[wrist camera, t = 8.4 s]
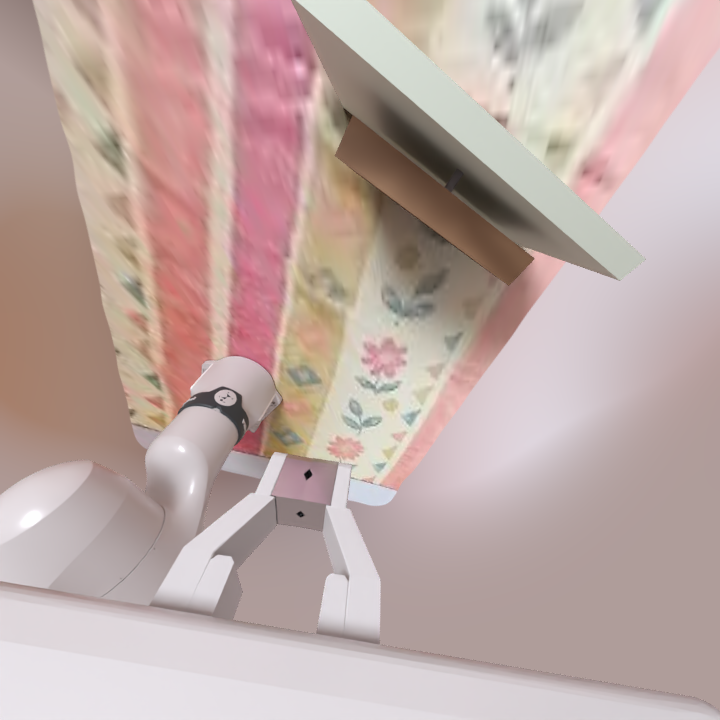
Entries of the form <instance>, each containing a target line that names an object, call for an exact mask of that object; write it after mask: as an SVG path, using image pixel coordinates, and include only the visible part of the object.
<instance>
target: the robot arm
mask: <svg viewBox="0 0 720 720" xmlns="http://www.w3.org/2000/svg"><path fill="white" fill-rule="evenodd" d="M190 390H191V398H190V399H189V400H187V401H186V402H185V403H184V404H183V406H182V408H181V409H180V410H179V412H178V415H177V416H176V417H175V419H174V420H173V421H172V422H171V423H170V424H169V425H168V426H167V427H166V428H165V429H164V430H163V431H162V432H161V433H160V434H159V435H158V436H157V437H156V438H155V439H154V440H153V441H152V443H151V444H150V446H149V448H148V450H147V453H146V457H145V466H146V473H147V485H146V490H145V492H143V491H142V490H141V489H140V488H139V487H138V486H136V485H135V484H134V483H133V482H132V481H131V480H129V479H128V478H127V477H125V476H123V475H121V474H119V473H117V472H115V471H113V470H111V469H109V468H107V467H104V466H102V465H100V464H97V463H95V462H93V461H91V460H76V461H70V462H65V463H61V464H57V465H54V466H51V467H48V468H45V469H42V470H40V471H38V472H36V473H34V474H32V475H30V476H28V477H26V478H24V479H22V480H21V481H19V482H18V483H16V484H14V485H13V486H12V487H10V488H9V489H7V490H6V491H5V492H4V493H3V494H1V495H0V720H720V710H718V709H717V708H716V707H714V706H713V705H711V704H710V703H708V702H706V701H704V700H701V699H698V698H695V697H690V696H685V695H680V694H674V693H668V692H662V691H656V690H650V689H644V688H637V687H632V686H626V685H620V684H614V683H608V682H602V681H596V680H590V679H584V678H578V677H572V676H566V675H560V674H554V673H548V672H542V671H535V670H530V669H524V668H518V667H512V666H505V665H499V664H493V663H488V662H482V661H476V660H470V659H464V658H458V657H452V656H446V655H440V654H434V653H428V652H422V651H416V650H410V649H404V648H398V647H392V646H386V645H380V586H381V585H380V584H381V580H380V578H379V576H378V573H377V571H376V569H375V566H374V564H373V562H372V559H371V557H370V554H369V552H368V550H367V548H366V545H365V543H364V540H363V538H362V535H361V533H360V531H359V528H358V526H357V524H356V522H355V519H354V517H353V514H352V512H351V510H350V509H347V508H346V507H347V500H348V493H349V485H350V477H351V470H352V464H346V463H339V462H335V461H328V460H322V459H315V458H307V457H301V456H296V455H290V454H285V453H279V452H274V454H273V455H272V457H271V459H270V461H269V463H268V466H267V468H266V470H265V472H264V474H263V477H262V479H261V481H260V483H259V486H258V488H257V490H256V492H255V493H250V494H249V495H248V496H246V497H245V498H244V499H243V500H241V501H240V502H239V503H238V504H236V505H235V506H234V507H233V508H231V509H230V510H229V511H228V512H226V513H225V514H224V515H223V516H221V517H220V518H219V519H218V520H217V521H215V522H214V523H213V524H212V525H210V526H209V527H208V528H207V529H205V530H204V531H203V529H204V522H205V515H206V511H207V506H208V502H209V498H210V494H211V491H212V487H213V485H214V482H215V479H216V477H217V475H218V473H219V471H220V470H221V468H222V466H223V464H224V462H225V461H226V459H227V457H228V455H229V454H230V452H231V450H232V449H233V447H234V446H235V445H236V444H238V442H239V441H240V440H241V439H242V438H243V436H244V435H245V433H246V431H248V430H249V431H251V432H255V431H256V430H257V428H258V427H259V425H260V423H261V421H262V420H263V419H264V418H265V417H266V416H268V415H269V414H270V413H271V412H272V411H273V410H274V409H275V408H276V407H277V406H278V405H279V404H280V403H281V401H282V397H281V396H280V394H279V393H278V392H277V391H276V388H275V385H274V382H273V379H272V377H271V376H270V374H269V373H268V372H267V371H266V370H265V369H264V368H263V367H262V366H261V365H259V364H258V363H256V362H254V361H252V360H250V359H247V358H244V357H238V356H230V357H225V358H223V359H220V360H217V361H211V360H210V361H205V362H204V363H203V364H202V375H201V376H200V377H199V379H198V380H197V381H196V382H195V383H194V384H193V385H192V387H191V388H190ZM338 463H339V464H338ZM277 524H281V525H288V526H296V527H302V528H308V529H313V530H318V531H322V532H323V536H324V539H325V543H326V546H327V550H328V554H329V557H330V561H331V564H332V568H333V571H334V574H330V575H329V576H328V577H327V578H326V582H325V587H324V593H323V598H322V604H321V610H320V616H319V622H318V627H317V633H316V634H314V633H308V632H302V631H296V630H290V629H284V628H278V627H272V626H266V625H260V624H254V623H248V622H242V621H236V620H233V618H234V615H235V612H236V609H237V607H238V604H239V601H240V598H241V596H242V593H243V591H242V588H241V584H240V581H239V578H238V574H237V571H236V570H237V569H238V568H239V567H240V566H241V565H242V564H243V562H244V561H245V560H246V559H247V558H248V557H249V556H250V555H251V554H252V552H253V551H254V550H255V549H256V548H257V547H258V546H259V545H260V544H261V543H262V542H263V540H264V539H265V538H266V537H267V536H268V535H269V534H270V533H271V532H272V530H273V529H274V528H275V527H276V526H277Z"/></svg>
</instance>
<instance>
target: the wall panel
mask: <svg viewBox="0 0 720 720" xmlns="http://www.w3.org/2000/svg"><path fill="white" fill-rule="evenodd" d="M291 1H292V3H293V5H294V7H295V9H296V11H297V13H298V15H299V17H300V19H301V21H302V24H303V26H304V28H305V30H306V32H307V34H308V36H309V38H310V40H311V42H312V44H313V46H314V48H315V50H316V52H317V55H318V57H319V59H320V61H321V63H322V65H323V67H324V69H325V71H326V73H327V75H328V77H329V79H330V81H331V84H332V86H333V88H334V90H335V92H336V94H337V96H338V98H339V100H340V102H341V104H342V106H343V108H344V109H346V110H347V111H348V112H349V113H351V114H352V115H354V116H355V117H356V118H358V119H359V120H360V121H361V122H363V123H364V124H365V125H366V126H368V127H369V128H370V129H371V130H373V131H374V132H375V133H377V134H378V135H379V136H380V137H382V138H383V139H384V140H385V141H387V142H388V143H389V144H390V145H392V146H393V147H394V148H395V149H397V150H398V151H399V152H401V153H402V154H403V155H404V156H406V157H407V158H408V159H409V160H411V161H412V162H413V163H414V164H416V165H417V166H418V167H419V168H421V169H422V170H423V171H424V172H426V173H427V174H428V175H430V176H431V177H432V178H433V179H435V180H436V181H437V182H438V183H440V184H441V185H442V186H443V187H445V188H446V189H447V190H448V191H450V192H451V193H452V194H454V195H455V196H456V197H457V198H459V199H460V200H461V201H462V202H464V203H465V204H466V205H467V206H469V207H470V208H471V209H472V210H474V211H475V212H476V213H477V214H479V215H480V216H481V217H483V218H484V219H485V220H486V221H488V222H489V223H490V224H491V225H493V226H494V227H495V228H496V229H498V230H499V231H500V232H501V233H503V234H504V235H505V236H507V237H508V238H509V239H510V240H512V241H513V242H514V243H515V244H518V245H521V246H524V247H526V248H529V249H532V250H535V251H538V252H540V253H543V254H546V255H549V256H552V257H555V258H557V259H560V260H563V261H566V262H569V263H571V264H574V265H577V266H580V267H583V268H585V269H588V270H591V271H594V272H597V273H600V274H602V275H605V276H608V277H611V278H614V279H617V280H619V281H620V280H622V279H623V278H624V277H625V276H626V275H627V274H629V273H630V272H631V271H632V270H634V269H635V268H636V267H637V266H638V265H639V264H641V263H642V262H643V261H644V260H646V259H645V258H644V257H643V256H642V255H641V254H640V253H639V252H638V251H637V250H635V248H633V247H632V246H631V245H630V244H629V243H628V242H627V241H626V240H625V239H624V238H623V237H622V236H620V235H619V234H618V233H617V232H616V231H615V230H614V229H613V228H612V227H611V226H610V225H608V224H607V223H606V222H605V221H604V220H603V219H602V218H601V217H600V216H599V215H598V214H597V213H596V212H595V211H593V210H592V209H591V208H590V207H589V206H588V205H587V204H586V203H585V202H584V201H583V200H582V199H581V198H579V197H578V196H577V195H576V194H575V193H574V192H573V191H572V190H571V189H570V188H569V187H568V186H566V185H565V184H564V183H563V182H562V181H561V180H560V179H559V178H558V177H557V176H556V175H555V174H553V173H552V172H551V171H550V170H549V169H548V168H547V167H546V166H545V165H544V164H543V163H542V162H541V161H539V160H538V159H537V158H536V157H535V156H534V155H533V154H532V153H531V152H530V151H529V150H528V149H526V148H525V147H524V146H523V145H522V144H521V143H520V142H519V141H518V140H517V139H516V138H515V137H513V136H512V135H511V134H510V133H509V132H508V131H507V130H506V129H505V128H504V127H503V126H502V125H501V124H499V123H498V122H497V121H496V120H495V119H494V118H493V117H492V116H491V115H490V114H489V113H488V112H486V111H485V110H484V109H483V108H482V107H481V106H480V105H479V104H478V103H477V102H476V101H475V100H473V99H472V98H471V97H470V96H469V95H468V94H467V93H466V92H465V91H464V90H463V89H462V88H461V87H459V86H458V85H457V84H456V83H455V82H454V81H453V80H452V79H451V78H450V77H449V76H448V75H446V74H445V73H444V72H443V71H442V70H441V69H440V68H439V67H438V66H437V65H436V64H435V63H433V62H432V61H431V60H430V59H429V58H428V57H427V56H426V55H425V54H424V53H423V52H422V51H421V50H419V49H418V48H417V47H416V46H415V45H414V44H413V43H412V42H411V41H410V40H409V39H408V38H406V37H405V36H404V35H403V34H402V33H401V32H400V31H399V30H398V29H397V28H396V27H395V26H393V25H392V24H391V23H390V22H389V21H388V20H387V19H386V18H385V17H384V16H383V15H382V14H381V13H379V12H378V11H377V10H376V9H375V8H374V7H373V6H372V5H371V4H370V3H369V2H368V1H366V0H291Z"/></svg>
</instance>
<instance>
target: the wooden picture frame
mask: <svg viewBox="0 0 720 720" xmlns="http://www.w3.org/2000/svg"><path fill="white" fill-rule="evenodd" d="M335 156H336V157H337V158H338V159H340V160H341V161H342V162H343V163H345V164H346V165H347V166H348V167H350V168H351V169H352V170H353V171H355V172H356V173H357V174H359V175H360V176H361V177H363V178H364V179H365V180H367V181H368V182H369V183H371V184H372V185H373V186H375V187H376V188H377V189H379V190H380V191H381V192H383V193H384V194H385V195H387V196H388V197H389V198H391V199H392V200H393V201H395V202H396V203H397V204H399V205H400V206H401V207H403V208H404V209H405V210H407V211H408V212H409V213H411V214H412V215H413V216H415V217H416V218H417V219H419V220H420V221H421V222H423V223H424V224H425V225H427V226H428V227H429V228H431V229H432V230H433V231H435V232H436V233H437V234H439V235H440V236H442V237H443V238H444V239H446V240H447V241H448V242H450V243H451V244H452V245H454V246H455V247H456V248H458V249H459V250H460V251H462V252H463V253H464V254H466V255H467V256H468V257H470V258H471V259H472V260H474V261H475V262H476V263H478V264H479V265H481V266H482V267H483V268H485V269H486V270H488V271H489V272H490V273H492V274H493V275H495V276H496V277H497V278H499V279H500V280H502V281H503V282H504V283H506V284H507V285H510V284H511V283H512V282H513V281H514V280H515V279H516V278H517V277H518V276H519V275H520V273H521V272H522V271H523V270H524V269H525V268H526V267H527V266H528V265H529V264H530V263H531V262H532V261H533V260H534V258H533V257H532V256H530V255H529V254H528V253H527V252H525V251H524V250H523V249H522V248H520V247H519V246H518V245H517V244H515V243H514V242H513V241H512V240H510V239H509V238H508V237H507V236H505V235H504V234H503V233H501V232H500V231H499V230H498V229H496V228H495V227H494V226H493V225H491V224H490V223H489V222H488V221H486V220H485V219H484V218H483V217H481V216H480V215H479V214H477V213H476V212H475V211H474V210H472V209H471V208H470V207H469V206H467V205H466V204H465V203H464V202H462V201H461V200H460V199H459V198H457V197H456V196H455V195H454V194H452V193H451V192H450V191H448V190H447V189H446V188H445V187H443V186H442V185H441V184H440V183H438V182H437V181H436V180H435V179H433V178H432V177H431V176H430V175H428V174H427V173H426V172H424V171H423V170H422V169H421V168H419V167H418V166H417V165H416V164H414V163H413V162H412V161H411V160H409V159H408V158H407V157H406V156H404V155H403V154H402V153H401V152H399V151H398V150H397V149H395V148H394V147H393V146H392V145H390V144H389V143H388V142H387V141H385V140H384V139H383V138H382V137H380V136H379V135H378V134H377V133H375V132H374V131H373V130H371V129H370V128H369V127H368V126H366V125H365V124H364V123H363V122H361V121H360V120H359V119H358V118H356V117H355V116H354V115H352V117H351V120H350V122H349V124H348V127H347V129H346V131H345V134H344V136H343V138H342V140H341V143H340V145H339V147H338V150H337V152H336V154H335Z"/></svg>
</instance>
